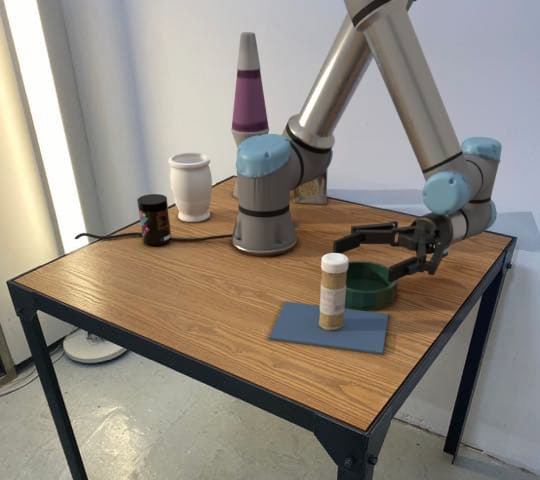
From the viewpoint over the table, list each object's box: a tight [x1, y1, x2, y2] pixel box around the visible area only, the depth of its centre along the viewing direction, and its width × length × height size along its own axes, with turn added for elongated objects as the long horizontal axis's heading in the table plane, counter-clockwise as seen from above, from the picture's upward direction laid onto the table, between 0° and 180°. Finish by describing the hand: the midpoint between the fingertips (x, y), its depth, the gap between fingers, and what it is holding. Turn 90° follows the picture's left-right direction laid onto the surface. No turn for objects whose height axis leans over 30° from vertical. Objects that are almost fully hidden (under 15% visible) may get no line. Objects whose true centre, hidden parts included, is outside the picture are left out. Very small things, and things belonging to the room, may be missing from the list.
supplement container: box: [136, 193, 172, 248], centre depth 132 cm, size 7×7×10 cm
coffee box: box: [292, 167, 329, 205], centre depth 153 cm, size 9×6×16 cm
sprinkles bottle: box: [319, 252, 349, 331], centre depth 100 cm, size 5×5×14 cm
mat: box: [268, 301, 390, 355], centre depth 104 cm, size 20×13×1 cm, turn 76°
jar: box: [167, 152, 213, 223], centre depth 143 cm, size 11×10×15 cm
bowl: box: [344, 260, 399, 312], centre depth 113 cm, size 14×14×4 cm
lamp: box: [230, 31, 270, 199], centre depth 150 cm, size 11×11×40 cm
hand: (360, 261), depth 101 cm, fingers open, 13 cm apart
